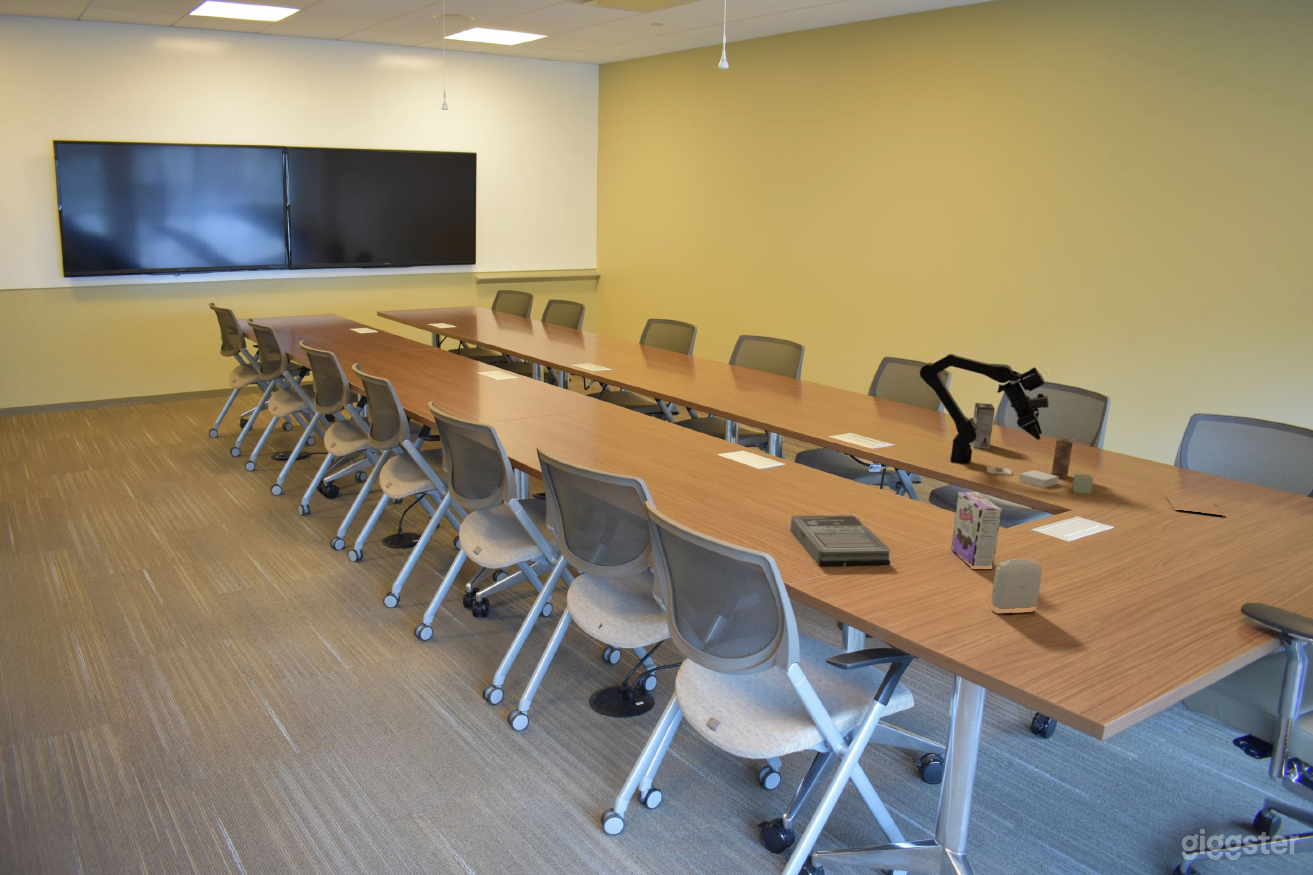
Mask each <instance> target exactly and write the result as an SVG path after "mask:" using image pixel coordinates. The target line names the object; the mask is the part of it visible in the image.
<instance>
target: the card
mask: <svg viewBox="0 0 1313 875" xmlns="http://www.w3.org/2000/svg"><path fill="white" fill-rule="evenodd" d="M986 472H988V474H989V473H990V474H996V473H997V474H996V475H1006V476H1013V474H1012V469H1011V468H1004V467H1003V468H1002V467H994V466H992V467H991V466H986Z"/></svg>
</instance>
